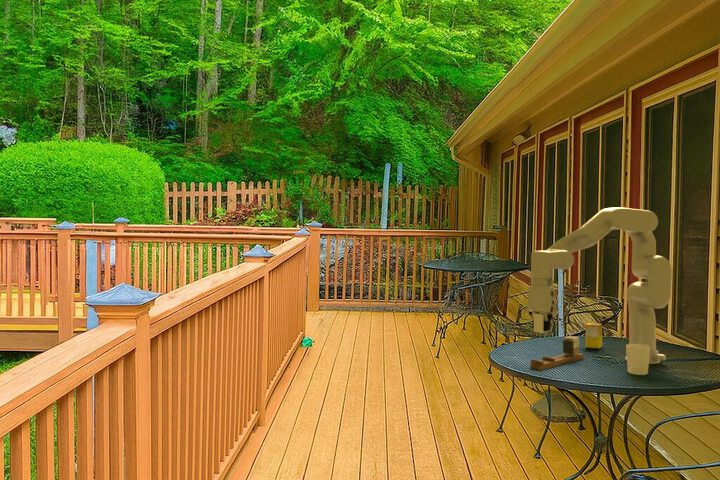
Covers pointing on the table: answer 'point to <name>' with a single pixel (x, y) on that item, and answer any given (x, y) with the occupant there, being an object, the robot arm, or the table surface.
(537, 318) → the cream brown block
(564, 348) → the rail
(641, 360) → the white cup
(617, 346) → the table surface
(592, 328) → the supplement box
